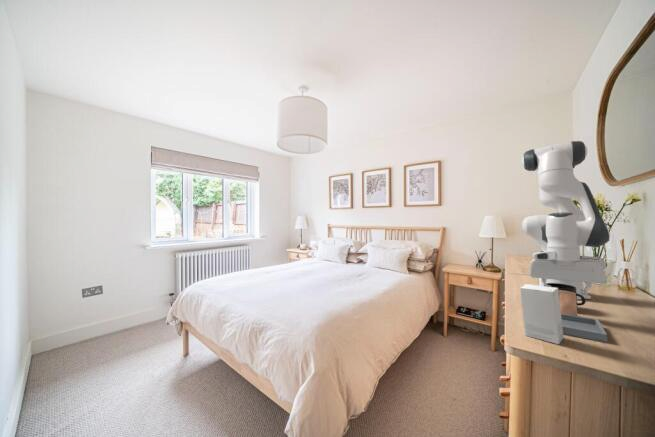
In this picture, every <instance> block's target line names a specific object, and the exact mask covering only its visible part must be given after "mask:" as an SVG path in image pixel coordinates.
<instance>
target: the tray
mask: <svg viewBox="0 0 655 437" xmlns="http://www.w3.org/2000/svg"><path fill="white" fill-rule="evenodd" d="M561 319H562V328H563V336H569V337H575V338H580V339H586V340H590V341H594V342H600V343H606V344H608V342H609V341H608V334H607V332H606V331H605V329H604V327H603V325H602V323H601V322H600V320H599V319H598V318H591V317H584V316H578V315H577V316H573V315H567V314H561Z"/></svg>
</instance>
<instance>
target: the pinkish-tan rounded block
mask: <svg viewBox="0 0 655 437" xmlns="http://www.w3.org/2000/svg"><path fill="white" fill-rule="evenodd" d="M558 292H559V301H560V310H561V314H567V315H573V316H578V310H577V307H578V306H577V304H576V293H574V292H570V291H563V290H558Z"/></svg>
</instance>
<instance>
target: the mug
mask: <svg viewBox="0 0 655 437" xmlns="http://www.w3.org/2000/svg"><path fill="white" fill-rule="evenodd" d="M547 285H550V286H551V287H555V288H558V290H563V291H570V292H574V293H576V287H574V286H571V285H566V284H559V283H547ZM544 286H545V285H544ZM577 296H579V297H581V299H580V300H581V301H582V302H579V303H578V299H577ZM586 301H587V299H585V298H584V297H583V296H582V295H580V294H577V293H576V304H577V311H578V310H579V309H578V307H579V306H584V305H585V304H586Z"/></svg>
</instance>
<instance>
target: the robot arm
mask: <svg viewBox="0 0 655 437" xmlns="http://www.w3.org/2000/svg"><path fill="white" fill-rule="evenodd" d="M587 155H588V148H587V146H586V144H585V143H584V141H582V140H581V141H580V140H575V141H573V140H572V141H570V142H561V143H560V142H559V143H555V144H551V145H550V144H549V145H546V146H542V147H538V148H535V149H533V148H532V149H529V150H527V151H525V152H524V153H523V155H522V158H521V165H522V167H523V168H524V170H525V171H527V172H535V171H537V179H538V184H537V185H538V186H537V187H538V199H539V200H538V201H539V203H541V204H542V205H543V206H545V207H548V208H551V209H555V210H557V212H553V213H548V214H545V213H544V214H543V213H542V214H535V215H530V216H529V215H528V216H526V217H525V218H523V219H522V222H521V229H522V231H523V232H524V233H525V234H526V235H528V236H529V237H531V238H532V239H533V240H535V241H536V242H537V244H538V245H539V247H540V249H541V251H536V252H533V253H532V259H531V261H530V263H529V276H530V277H531V278H534V279H535V278H536V279H538V282H539V284H538V286H544V285H545V286H547V287H551V286H550V285H547V283H559V284H566V285H571V286H574V287H576V293H577V294H580V295H582V296H583V297H584V298H585V300H591V299H592V297H591V295H589V294H588V293H589V292H588V291H589V290H590V289H591V287H593V286H592V284H593V283H594V284H602V285H603V284H605V283H606V282H607V276H606V272H605V269H606V268H607V262H606V260H605V259H604V258H602V257H599V256H595V255H594V256H590V255H589V256H588V255H581V249H580V248H581V247H582V246H583V247H584V246H585V247H589V248H591V247H592V248H599V247H602V246H603V245H605V244H607V243H608V242H609V241H610V237H611V233H610V230H609V228H608V225H606V223H605V221H604V219H603V217H602V215H601V212H600V210H599V207H598V205H597V203H596V201H595V197H594V195H593V193H592V192H591V189H590V187H589V185H587V183H586V182H583V181H581V180H579V179H578V178H576V176H575V174H574V169H575V167H576V166H578V165H580V164H582V163H583V162H584V161H585V160H586V158H587ZM574 201H576V202H577V203H578V204H579V206H580V208H579V207H578V206H577V205H576V204H575V203H574ZM577 300H582V299H581V297H579V296H577Z"/></svg>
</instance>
